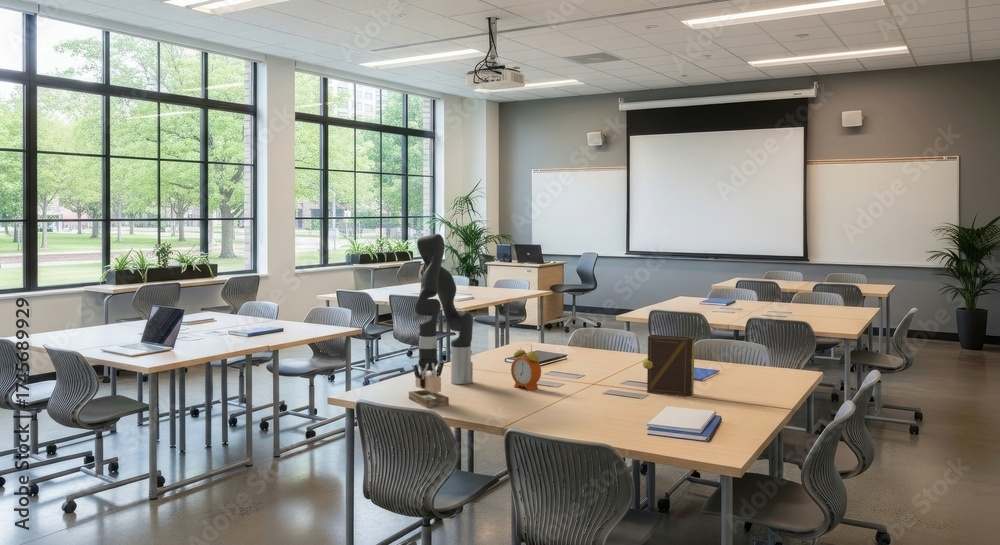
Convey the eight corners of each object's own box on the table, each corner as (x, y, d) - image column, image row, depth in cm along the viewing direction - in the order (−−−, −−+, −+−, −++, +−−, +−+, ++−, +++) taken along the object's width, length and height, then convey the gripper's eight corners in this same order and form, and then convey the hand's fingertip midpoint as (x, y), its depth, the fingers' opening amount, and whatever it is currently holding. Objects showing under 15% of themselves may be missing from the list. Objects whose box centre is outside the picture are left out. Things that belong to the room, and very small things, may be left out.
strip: (423, 385, 329) (423, 371, 328) (440, 391, 317) (440, 377, 317) (415, 386, 326) (415, 372, 326) (432, 392, 315) (432, 378, 314)
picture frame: (430, 396, 332) (430, 389, 332) (448, 404, 317) (448, 397, 316) (408, 398, 327) (408, 391, 327) (426, 407, 312) (426, 400, 311)
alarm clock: (510, 387, 350) (510, 343, 349) (519, 385, 355) (519, 341, 353) (532, 391, 341) (532, 346, 340) (541, 389, 346) (541, 345, 344)
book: (694, 393, 338) (695, 336, 336) (690, 397, 330) (692, 339, 328) (645, 388, 347) (645, 333, 345) (640, 392, 339) (641, 336, 338)
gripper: (439, 344, 327) (439, 383, 328) (408, 346, 320) (408, 387, 321) (447, 346, 321) (447, 387, 322) (415, 349, 314) (416, 390, 315)
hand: (428, 387), depth 322 cm, fingers closed on strip, 4 cm apart
